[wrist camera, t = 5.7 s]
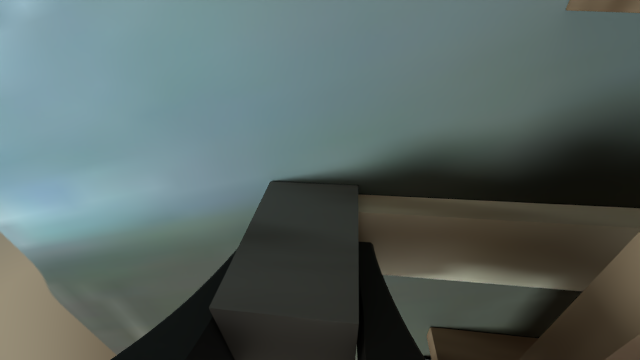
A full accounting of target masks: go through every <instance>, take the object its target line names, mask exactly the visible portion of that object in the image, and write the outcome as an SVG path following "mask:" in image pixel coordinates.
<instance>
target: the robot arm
mask: <svg viewBox="0 0 640 360" xmlns="http://www.w3.org/2000/svg"><path fill="white" fill-rule="evenodd" d="M358 245H359V327H358V336H357V357H358V360H429V359H425V358H424V356H423V355H422V353H421V351H420V350H419V348H418V346H417V345H416V343H415V341H414V339H413V338H412V336H411V334H410V332H409V330H408V329H407V327H406V325H405V323H404V321H403V319H402V317H401V315H400V313H399V311H398V309H397V307H396V305H395V303H394V301H393V299H392V296H391V294H390V292H389V290H388V287H387V285H386V283H385V280H384V278H383V275H382V273H381V270H380V267H379V264H378V261H377V258H376V255H375V251H374V246H373V244H372V243H371V242H359V241H358ZM236 251H237V250H236ZM236 251H235V252H234V253H233V254H232V255H231V256H230V258H229V259H228V260H227V261H226V262H225V263H224V264H223V265H222V266H221V267H220V268H219V269H218V270H217V272H216V273H215V274H214V275H213V276H212V277H211V278H210V279H209V280H208V281H207V282H206V283H205V284H204V285H203V286H202V287H201V288H200V289H199V290H198V291H197V292H195V293H194V294H193V295H192V296H191V297H190V298H189V299H188V300H187V301H186V302H185V303H183V304H182V305H181V306H180V307H179V308H178V309H177V310H175V311H174V312H173V313H172V314H171V315H170V316H168V317H167V318H166V319H165V320H163V321H162V322H161V323H160V324H158V325H157V326H156V327H155V328H153V329H152V330H151V331H150V332H148V333H147V334H146V335H144V336H143V337H142V338H140V339H139V340H138V341H136V342H135V343H133V344H132V345H131V346H129V347H128V348H126V349H125V350H124V351H122V352H121V353H119V354H118V355H117V356H115V357H114V358H112V359H111V360H235V359H234V357H233V355H232V353H231V351H230V349H229V347H228V345H227V343H226V341H225V339H224V337H223V335H222V333H221V331H220V329H219V327H218V325H217V323H216V321H215V319H214V317H213V315H212V313H211V311H210V309H209V306H210V304H211V302H212V300H213V298H214V296H215V294H216V292H217V290H218V288H219V286H220V284H221V282H222V280H223V278H224V276H225V274H226V272H227V270H228V267H229V265H230V263H231V261H232V259H233V257H234V255H235V253H236Z"/></svg>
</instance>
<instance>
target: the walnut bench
mask: <svg viewBox="0 0 640 360" xmlns="http://www.w3.org/2000/svg"><path fill="white" fill-rule="evenodd" d="M566 10H571V11H600V12H628V13H640V0H570V1H569V3H568V5H567V8H566ZM427 340H428V345H429V350H430V354H431V359H432V360H640V232H639V233H638V234H637V235H636V236H635V237H634V238H633V239H632V240H631V241H630V242H629V243H628V244H627V245H626V246H625V247H624V249H623V250H622V251H621V252H620V253H619V254H618V255H617V256H616V257H615V258H614V259H613V260H612V261H611V262H610V263H609V264H608V265H607V267H606V268H605V269H604V270H603V271H602V272H601V273H600V274H599V275H598V276H597V277H596V278H595V279H594V280H593V281H592V282H591V283H590V285H589V286H588V287H587V288H586V289H585V290H584V291H583V292H582V293H581V294H580V295H579V296H578V297H577V298H576V299H575V300H574V301H573V303H572V304H571V305H570V306H569V307H568V308H567V309H566V310H565V311H564V312H563V313H562V314H561V315H560V316H559V317H558V318H557V319H556V321H555V322H554V323H553V324H552V325H551V326H550V327H549V328H548V329H547V330H546V331H545V332H544V333H543V334H542V335H541V336H540V337H539V338H529V337H520V336H510V335H501V334H491V333H482V332H472V331H463V330H453V329H444V328H434V327H430V329H429V331H428V334H427Z"/></svg>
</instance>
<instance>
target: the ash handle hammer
mask: <svg viewBox="0 0 640 360" xmlns="http://www.w3.org/2000/svg"><path fill="white" fill-rule="evenodd" d="M639 232H640V208H623V207H603V206H582V205H562V204H542V203H521V202H501V201H481V200H460V199H440V198H420V197H399V196H379V195H359V194H358V185H337V184H315V183H293V182H270V183H269V185H268V187H267V190H266V192H265V194H264V196H263V198H262V200H261V202H260V204H259V206H258V208H257V210H256V212H255V214H254V216H253V218H252V220H251V222H250V224H249V226H248V229H247V231H246V233H245V235H244V237H243V239H242V241H241V243H240V245H239V247H238V249H237V251H236V253H235V255H234V257H233V259H232V261H231V263H230V265H229V267H228V270H227V272H226V274H225V276H224V278H223V280H222V282H221V284H220V286H219V288H218V290H217V292H216V294H215V296H214V298H213V300H212V302H211V304H210V306H209V309H210V311H211V313H212V315H213V317H214V319H215V321H216V323H217V325H218V327H219V329H220V331H221V333H222V335H223V337H224V339H225V341H226V343H227V345H228V347H229V349H230V351H231V353H232V355H233V357H234V359H235V360H355V355H356V345H357V336H358V327H359V245H358V241H359V242H371V243H372V244H373V246H374V251H375V255H376V258H377V261H378V264H379V267H380V270H381V273H382V275H393V276H405V277H417V278H429V279H441V280H453V281H465V282H477V283H488V284H500V285H512V286H524V287H536V288H548V289H560V290H572V291H584V290H585V289H586V288H587V287H588V286H589V285H590V283H591V282H592V281H593V280H594V279H595V278H596V277H597V276H598V275H599V274H600V273H601V272H602V271H603V270H604V269H605V268H606V267H607V265H608V264H609V263H610V262H611V261H612V260H613V259H614V258H615V257H616V256H617V255H618V254H619V253H620V252H621V251H622V250H623V249H624V247H625V246H626V245H627V244H628V243H629V242H630V241H631V240H632V239H633V238H634V237H635V236H636V235H637V234H638V233H639Z"/></svg>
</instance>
